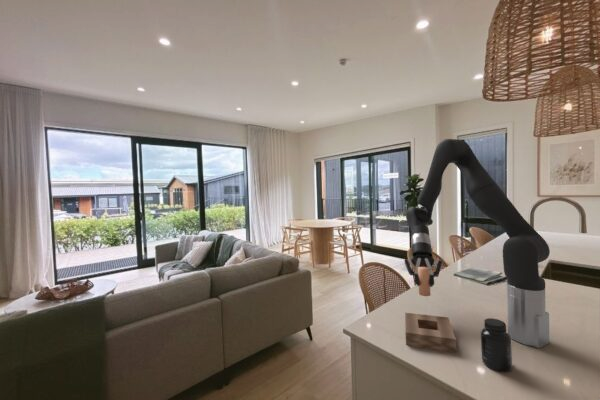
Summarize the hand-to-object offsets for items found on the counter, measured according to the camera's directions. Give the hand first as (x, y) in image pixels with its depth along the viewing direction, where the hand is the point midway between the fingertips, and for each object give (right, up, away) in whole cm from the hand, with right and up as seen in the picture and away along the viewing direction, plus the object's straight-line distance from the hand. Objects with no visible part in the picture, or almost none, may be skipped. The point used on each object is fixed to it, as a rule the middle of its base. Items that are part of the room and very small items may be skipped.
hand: (424, 285), depth 99 cm
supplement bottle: (+8, -14, -25) cm, 30 cm away
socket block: (-4, -14, -10) cm, 17 cm away
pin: (+1, -4, +2) cm, 5 cm away
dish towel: (+49, -10, +42) cm, 66 cm away
